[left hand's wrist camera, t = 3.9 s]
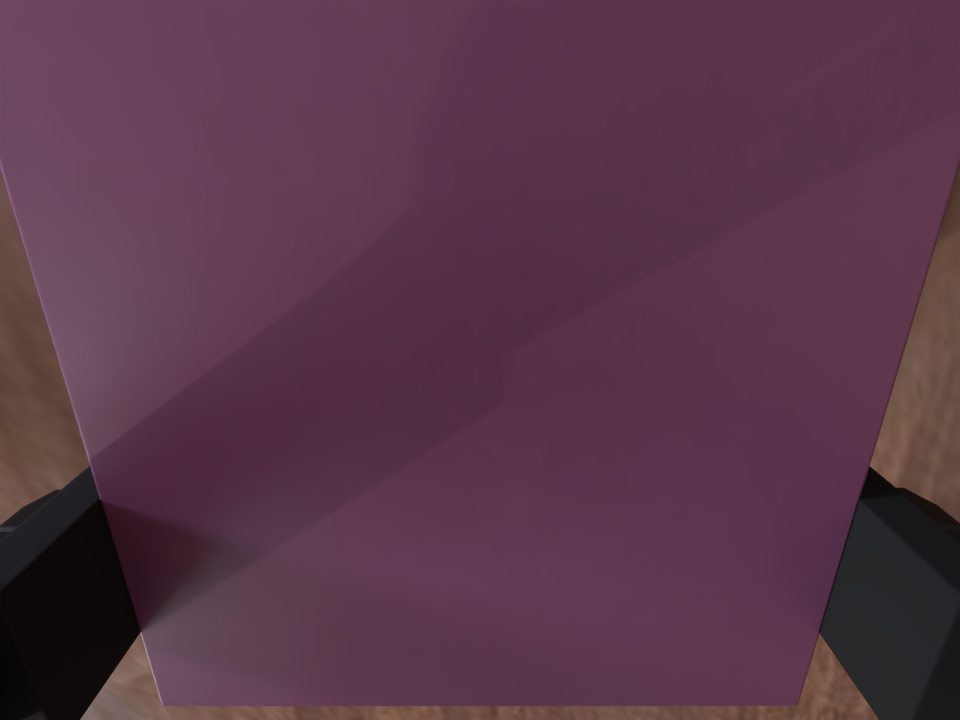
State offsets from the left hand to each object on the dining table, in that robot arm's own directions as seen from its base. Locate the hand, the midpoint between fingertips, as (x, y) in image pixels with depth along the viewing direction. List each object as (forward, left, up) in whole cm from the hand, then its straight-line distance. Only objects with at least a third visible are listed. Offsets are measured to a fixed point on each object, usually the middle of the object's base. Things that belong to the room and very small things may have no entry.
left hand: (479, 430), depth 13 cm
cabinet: (+6, -1, -6) cm, 9 cm away
